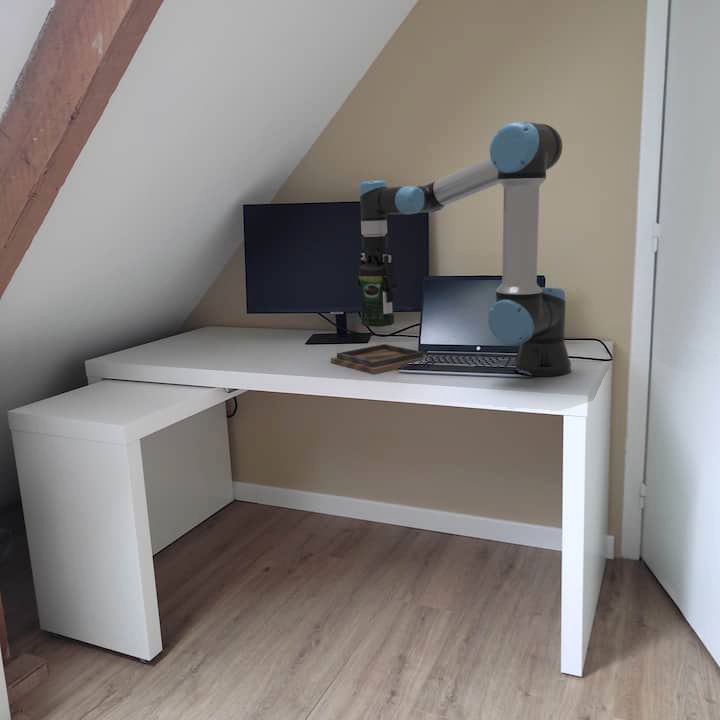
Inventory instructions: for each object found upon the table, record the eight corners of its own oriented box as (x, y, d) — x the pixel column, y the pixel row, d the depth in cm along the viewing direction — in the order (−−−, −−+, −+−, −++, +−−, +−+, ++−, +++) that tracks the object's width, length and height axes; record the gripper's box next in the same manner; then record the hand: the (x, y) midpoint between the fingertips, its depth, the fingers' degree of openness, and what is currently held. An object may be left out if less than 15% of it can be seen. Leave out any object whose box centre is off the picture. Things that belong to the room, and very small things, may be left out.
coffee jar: (397, 323, 220) (395, 261, 216) (388, 328, 213) (386, 264, 209) (367, 322, 224) (365, 261, 220) (357, 326, 217) (355, 264, 213)
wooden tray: (430, 361, 218) (430, 352, 218) (374, 374, 206) (374, 364, 206) (384, 351, 236) (384, 342, 235) (330, 362, 224) (330, 353, 223)
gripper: (408, 235, 206) (411, 313, 211) (362, 233, 224) (365, 306, 229) (388, 237, 202) (390, 317, 207) (342, 235, 219) (345, 309, 224)
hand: (377, 311), depth 218 cm, fingers closed on coffee jar, 9 cm apart
